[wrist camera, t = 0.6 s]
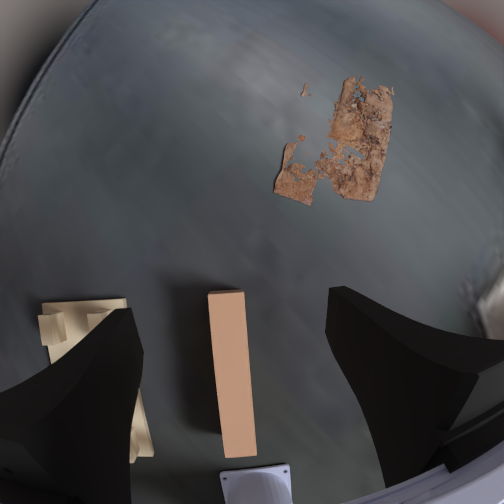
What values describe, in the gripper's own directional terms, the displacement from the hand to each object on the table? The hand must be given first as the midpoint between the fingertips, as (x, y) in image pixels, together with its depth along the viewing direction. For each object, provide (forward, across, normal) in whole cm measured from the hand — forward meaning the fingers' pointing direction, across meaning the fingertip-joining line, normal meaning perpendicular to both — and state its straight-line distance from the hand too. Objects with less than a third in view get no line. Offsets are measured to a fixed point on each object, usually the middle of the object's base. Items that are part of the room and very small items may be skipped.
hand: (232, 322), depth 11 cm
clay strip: (+15, 0, +16) cm, 22 cm away
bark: (+26, -15, -6) cm, 30 cm away
